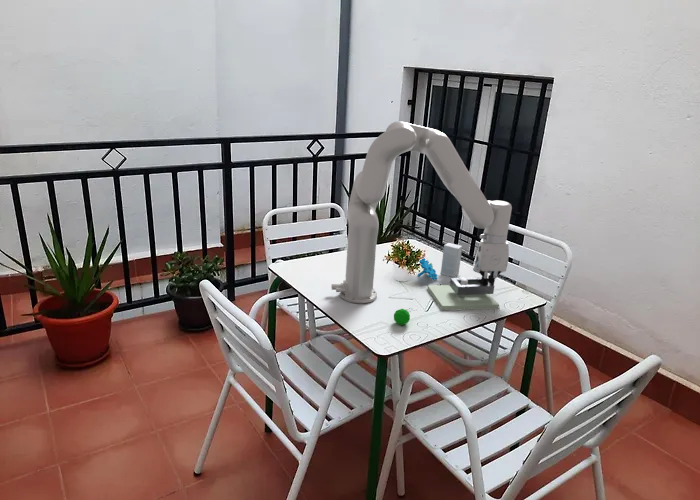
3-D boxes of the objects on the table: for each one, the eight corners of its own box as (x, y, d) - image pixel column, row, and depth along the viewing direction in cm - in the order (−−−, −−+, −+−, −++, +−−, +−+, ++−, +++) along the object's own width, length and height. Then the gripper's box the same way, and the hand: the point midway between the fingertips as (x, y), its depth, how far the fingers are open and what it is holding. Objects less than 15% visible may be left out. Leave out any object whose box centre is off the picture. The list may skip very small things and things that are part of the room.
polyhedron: (408, 320, 155) (409, 306, 153) (410, 327, 150) (411, 314, 149) (392, 319, 155) (393, 306, 153) (394, 327, 150) (395, 313, 148)
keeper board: (442, 310, 162) (444, 290, 160) (427, 289, 177) (429, 271, 175) (498, 308, 166) (501, 289, 163) (479, 288, 181) (482, 270, 178)
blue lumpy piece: (435, 281, 180) (419, 259, 181) (423, 289, 183) (407, 267, 183) (441, 274, 190) (426, 253, 191) (429, 282, 193) (414, 262, 194)
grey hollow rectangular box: (457, 294, 166) (458, 286, 165) (449, 285, 173) (450, 277, 172) (493, 294, 168) (494, 286, 167) (484, 284, 175) (485, 277, 174)
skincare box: (458, 274, 192) (462, 245, 187) (454, 278, 188) (458, 248, 184) (444, 270, 195) (448, 242, 190) (440, 274, 191) (443, 245, 187)
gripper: (477, 241, 160) (469, 292, 167) (521, 241, 163) (512, 291, 169) (468, 234, 167) (461, 283, 174) (511, 233, 170) (503, 282, 176)
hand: (486, 287), depth 171 cm, fingers closed on grey hollow rectangular box, 1 cm apart
